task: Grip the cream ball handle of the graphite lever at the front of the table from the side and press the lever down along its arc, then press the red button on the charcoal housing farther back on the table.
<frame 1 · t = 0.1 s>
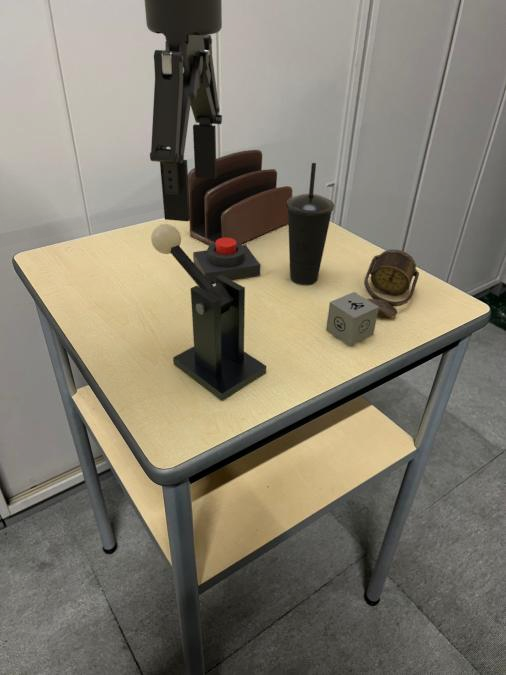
hand: (192, 196, 63), 22 cm above the table, tool pointing down, fingers open, 13 cm apart
lever: (190, 267, 65), point 13 cm above the table, hinge at 25.0°
letter holder: (241, 230, 106), on the table
button box: (226, 269, 92), on the table
bracket: (219, 368, 70), on the table
red button: (226, 246, 90), point 4 cm above the table, slide at 0.1 cm
brown antique clock: (382, 298, 86), on the table
dice cube: (349, 333, 78), on the table
drinking cup: (303, 278, 91), on the table
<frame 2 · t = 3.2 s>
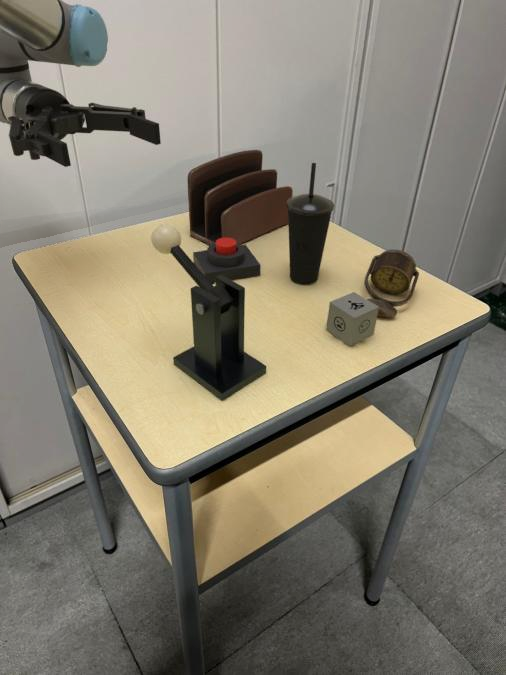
hand: (114, 144, 67), 25 cm above the table, tool horizontal, fingers open, 13 cm apart
nothing on the table moved.
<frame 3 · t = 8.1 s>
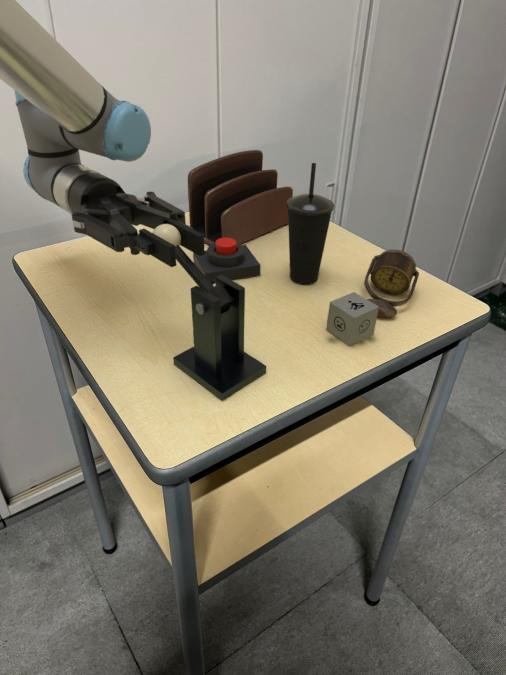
hand: (187, 250, 64), 16 cm above the table, tool horizontal, fingers closed on lever, 4 cm apart
lever: (190, 267, 65), point 13 cm above the table, hinge at 25.1°, touching gripper
everything else where it was.
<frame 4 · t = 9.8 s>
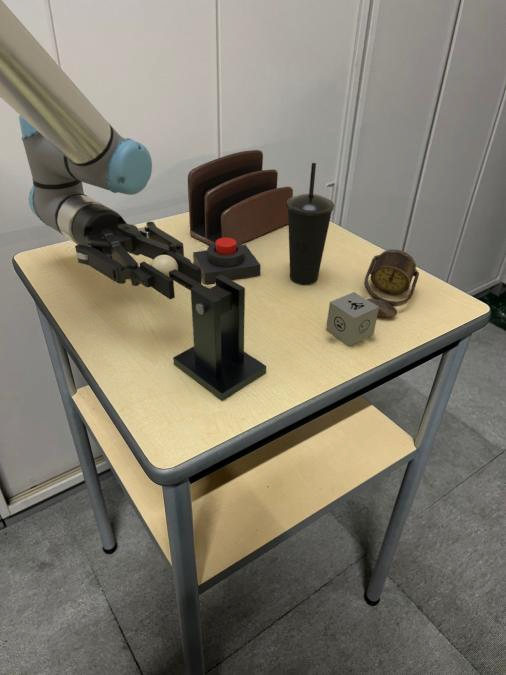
hand: (185, 283, 68), 11 cm above the table, tool horizontal, fingers closed on lever, 4 cm apart
lever: (188, 283, 67), point 11 cm above the table, hinge at -0.7°, touching gripper
everything else where it was.
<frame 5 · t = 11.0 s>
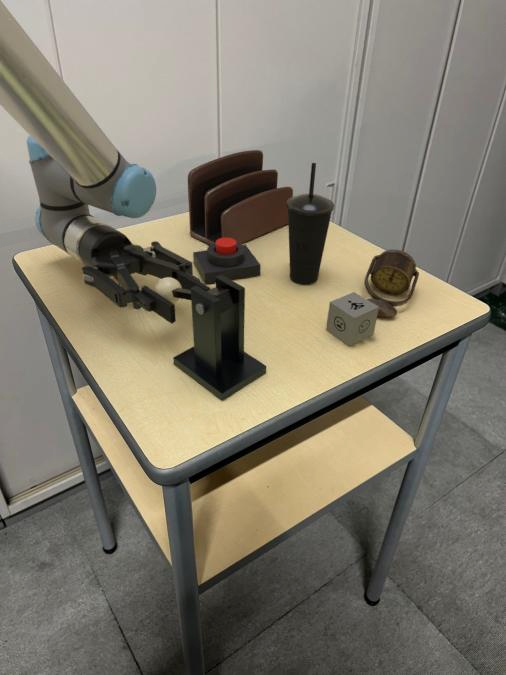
hand: (191, 305, 70), 7 cm above the table, tool horizontal, fingers open, 5 cm apart
lever: (190, 295, 68), point 9 cm above the table, hinge at -18.0°
everything else where it was.
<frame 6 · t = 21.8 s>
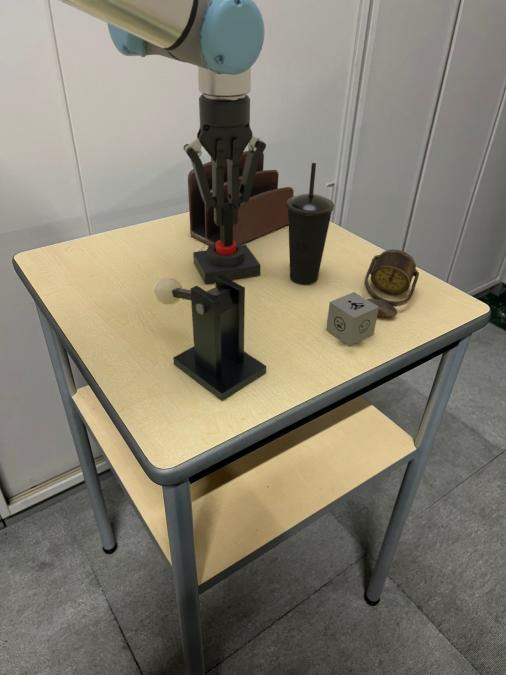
hand: (226, 241, 89), 5 cm above the table, tool pointing down, fingers closed
red button: (226, 247, 90), point 4 cm above the table, slide at -0.2 cm, touching gripper
everything else where it was.
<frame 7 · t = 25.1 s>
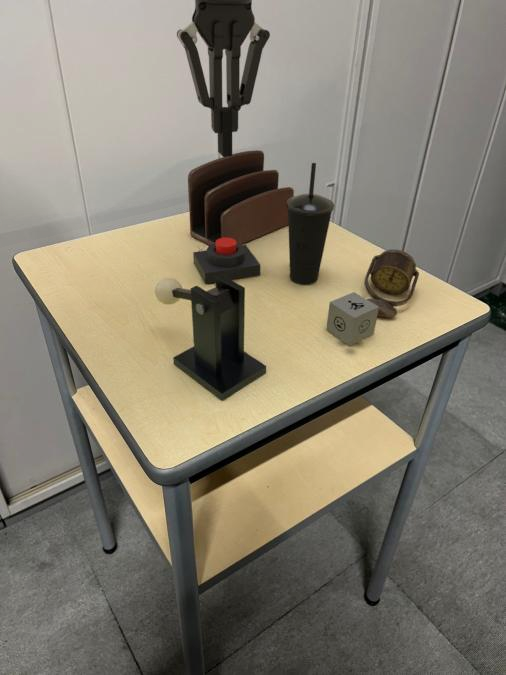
hand: (225, 153, 80), 20 cm above the table, tool pointing down, fingers closed
red button: (226, 246, 90), point 4 cm above the table, slide at 0.1 cm
everything else where it was.
at the end: lever at -18° (first picture: +25°); red button pushed in 1.0 cm at the most during the clip, back to where it started at the end; red button slide at 0.1 cm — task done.
